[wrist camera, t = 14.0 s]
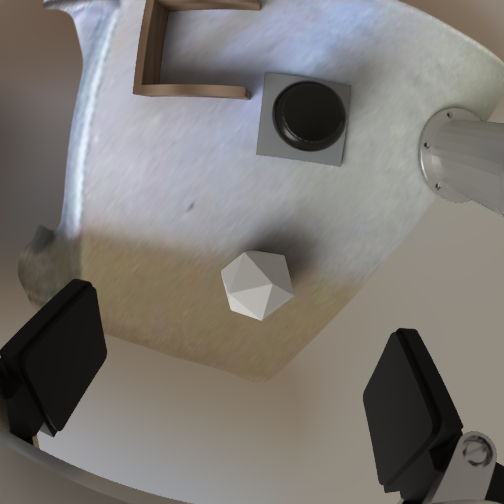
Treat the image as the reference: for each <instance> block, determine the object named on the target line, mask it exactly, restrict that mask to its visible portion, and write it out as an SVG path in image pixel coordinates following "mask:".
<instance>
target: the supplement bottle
mask: <svg viewBox="0 0 504 504" xmlns="http://www.w3.org/2000/svg"><path fill="white" fill-rule="evenodd" d="M272 122H273V125H274V128H275V130H276V132H277V134H278V135H279V137H280V138H281V139H282V140H283V141H284V142H285V143H286V144H288V145H289V146H291V147H292V148H294V149H297V150H300V151H304V152H317V151H322V150H324V149H327V148H329V147H331V146H332V145H333V144H335V143H336V142H337V141H338V140H339V139H340V137H341V136H342V134H343V132H344V130H345V127H346V122H347V114H346V108H345V105H344V103H343V101H342V99H341V97H340V96H339V95H338V93H337V92H336V91H335V90H333V89H332V88H331V87H329V86H328V85H326V84H324V83H322V82H319V81H314V80H301V81H297V82H294V83H292V84H290V85H288V86H286V87H285V88H284V89H283V90H282V91H281V92H280V93H279V94H278V96H277V97H276V99H275V101H274V104H273V108H272Z"/></svg>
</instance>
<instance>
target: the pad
mask: <svg viewBox="0 0 504 504" xmlns="http://www.w3.org/2000/svg"><path fill="white" fill-rule="evenodd" d="M301 80H314V81H319V82H322V83H324V84H326V85H328V86H329V87H331V88H332V89H333V90H335V91H336V92H337V93H338V95H339V96H340V97H341V99H342V101H343V103H344V105H345V108H346V114H347V117H348V110H349V101H350V93H351V86H350V85H346V84H341V83H335V82H330V81H324V80H319V79H312V78H306V77H299V76H292V75H284V74H275V73H265V79H264V88H263V97H262V106H261V115H260V124H259V133H258V142H257V151H256V155H264V156H272V157H280V158H287V159H295V160H302V161H308V162H315V163H321V164H327V165H333V166H339V167H340V166H341V160H342V153H343V146H344V140H345V132H346V127H345V130H344V132H343V134H342V136H341V137H340V139H339V140H338V141H337V142H336V143H335V144H333V145H332V146H331V147H329V148H327V149H324V150H322V151H317V152H304V151H300V150H297V149H294V148H292V147H291V146H289V145H288V144H286V143H285V142H284V141H283V140H282V139H281V138H280V137H279V135H278V134H277V132H276V130H275V128H274V125H273V122H272V108H273V104H274V101H275V99H276V97H277V96H278V94H279V93H280V92H281V91H282V90H283V89H284V88H285V87H286V86H288V85H290V84H292V83H294V82H297V81H301ZM346 125H347V122H346Z"/></svg>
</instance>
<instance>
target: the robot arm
mask: <svg viewBox="0 0 504 504" xmlns="http://www.w3.org/2000/svg"><path fill="white" fill-rule="evenodd" d="M447 114H448V116H447ZM424 143H425V144H426V145H425V147H424ZM418 158H419V165H420V168H421V172H422V175H423V177H424V179H425V181H426V183H427V184H428V185H429V187H430V188H431V189H432V190H433V191H434V192H435V193H436V194H437V195H439V196H440V197H442V198H444V199H446V200H448V201H451V202H455V203H463V202H468V201H470V200H473V201H475V202H477V203H479V204H481V205H483V206H484V207H486V208H488V209H490V210H492V211H494V212H496V213H497V214H499V215H501V216H503V217H504V123H494V122H484V121H481V120H480V119H479V118H478V117H477V116H476V115H475V114H473V113H471V112H470V111H468V110H465V109H461V108H447V109H444V110H441V111H439V112H437V113H436V114H434V115H433V116H432V117H431V118H430V119H429V120H428V122H427V123H426V125H425V126H424V128H423V131H422V133H421V136H420V140H419V145H418ZM436 184H437V185H436ZM435 186H436V187H435ZM106 355H107V348H106V344H105V339H104V334H103V328H102V323H101V317H100V311H99V305H98V299H97V292H96V289H95V288H94V287H93V286H92V284H91V283H90V282H88V281H84V280H80V279H73V280H72V281H71V282H70V283H68V284H67V285H66V286H65V287H64V288H63V289H62V290H61V291H60V292H58V293H57V294H56V295H55V296H54V297H53V298H52V299H51V300H50V301H49V302H48V303H47V304H46V305H45V306H43V307H42V308H41V309H40V310H39V311H38V312H37V313H36V314H35V315H34V316H33V317H32V318H31V319H30V320H29V321H28V322H27V323H26V324H25V325H24V326H23V327H22V328H21V329H20V330H19V331H18V332H17V333H16V334H15V335H14V336H13V337H12V338H11V339H10V340H9V341H8V342H7V343H6V344H5V345H4V346H3V347H2V349H1V350H0V356H1V358H0V504H191V503H187V502H182V501H178V500H173V499H169V498H165V497H161V496H158V495H154V494H151V493H147V492H144V491H140V490H137V489H134V488H131V487H128V486H125V485H122V484H119V483H116V482H113V481H110V480H108V479H105V478H102V477H100V476H97V475H95V474H92V473H90V472H87V471H85V470H82V469H80V468H78V467H76V466H73V465H71V464H69V463H67V462H65V461H63V460H60V459H58V458H56V457H54V456H52V455H50V454H48V453H46V452H44V451H42V450H40V448H39V444H38V439H37V433H38V431H39V430H40V431H42V432H44V433H46V434H48V435H50V436H52V437H54V436H55V434H56V433H57V431H61V430H62V429H63V428H64V426H65V424H66V423H67V421H68V419H69V418H70V416H71V414H72V413H73V411H74V409H75V408H76V406H77V404H78V403H79V401H80V399H81V398H82V396H83V395H84V393H85V391H86V389H87V388H88V386H89V385H90V383H91V382H92V380H93V378H94V377H95V375H96V374H97V372H98V370H99V369H100V367H101V366H102V364H103V363H104V361H105V359H106ZM363 402H364V406H365V411H366V416H367V421H368V426H369V431H370V436H371V441H372V446H373V452H374V457H375V463H376V468H377V474H378V480H379V483H380V484H381V485H384V491H385V493H388V492H396V491H400V495H401V499H400V500H399V502H398V503H397V504H504V466H502V465H500V464H499V463H497V462H496V458H497V452H496V448H495V445H494V443H493V442H492V441H491V439H490V438H489V437H488V436H486V435H485V434H483V433H480V432H476V431H471V432H467V433H465V434H464V435H463V433H462V431H461V429H462V428H463V424H462V422H461V420H460V418H459V415H458V413H457V410H456V408H455V406H454V404H453V402H452V399H451V397H450V395H449V393H448V391H447V389H446V386H445V385H444V382H443V380H442V378H441V376H440V374H439V372H438V370H437V368H436V366H435V364H434V362H433V360H432V358H431V356H430V354H429V352H428V350H427V348H426V346H425V345H424V343H423V341H422V339H421V337H420V335H419V334H418V332H417V330H415V329H406V328H405V329H404V328H399V329H398V330H397V331H396V332H393V333H392V334H391V335H390V338H389V340H388V343H387V344H386V347H385V349H384V351H383V353H382V355H381V358H380V360H379V362H378V364H377V366H376V368H375V370H374V372H373V374H372V377H371V378H370V380H369V383H368V385H367V386H366V389H365V390H364V394H363Z"/></svg>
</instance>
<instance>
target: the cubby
mask: <svg viewBox="0 0 504 504" xmlns="http://www.w3.org/2000/svg"><path fill="white" fill-rule="evenodd" d="M260 7H261V2H260V0H146V4H145V9H144V14H143V20H142V26H141V32H140V38H139V45H138V52H137V60H136V68H135V76H134V86H133V94H136V95H143V96H149V97H159V96H184V97H215V98H232V99H245V100H250V91H249V90H248V89H247V88H246V87H242V86H226V85H201V84H161V85H159V77H160V68H161V60H162V52H163V45H164V38H165V31H166V25H167V19H168V13H169V11H182V10H203V9H237V10H259V11H260Z"/></svg>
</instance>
